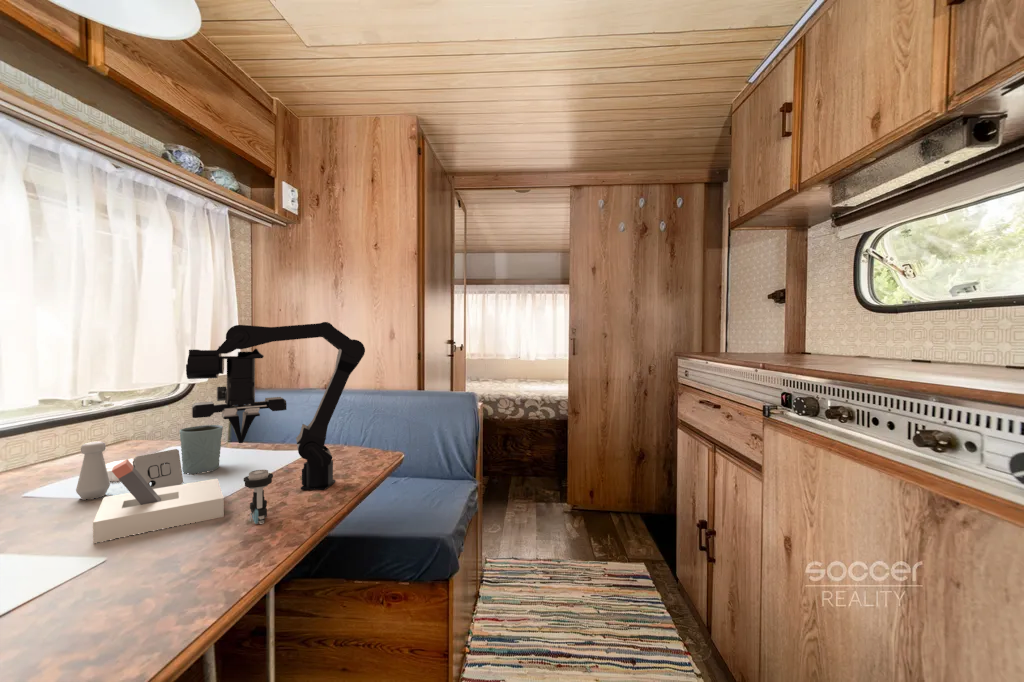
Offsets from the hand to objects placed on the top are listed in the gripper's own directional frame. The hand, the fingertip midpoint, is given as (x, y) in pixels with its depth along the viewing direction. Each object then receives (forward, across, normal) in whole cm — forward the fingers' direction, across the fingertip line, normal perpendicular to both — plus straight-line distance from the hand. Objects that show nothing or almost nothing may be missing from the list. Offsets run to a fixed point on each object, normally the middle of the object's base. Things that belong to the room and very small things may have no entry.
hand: (240, 442), depth 103 cm
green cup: (+13, +6, -33) cm, 36 cm away
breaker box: (+13, +14, +3) cm, 19 cm away
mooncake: (+14, +22, -39) cm, 47 cm away
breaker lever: (+10, +16, +3) cm, 19 cm away
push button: (+13, -1, +18) cm, 22 cm away
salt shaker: (+13, +28, -22) cm, 37 cm away
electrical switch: (+13, +16, -20) cm, 29 cm away
